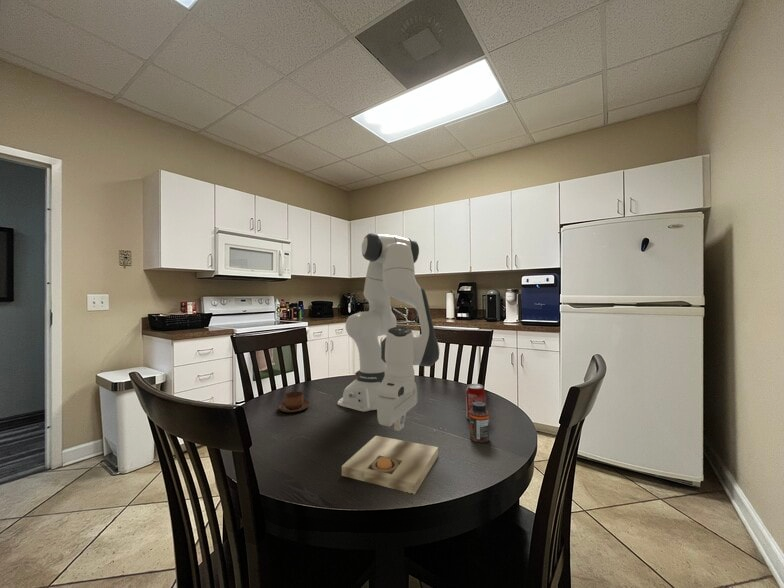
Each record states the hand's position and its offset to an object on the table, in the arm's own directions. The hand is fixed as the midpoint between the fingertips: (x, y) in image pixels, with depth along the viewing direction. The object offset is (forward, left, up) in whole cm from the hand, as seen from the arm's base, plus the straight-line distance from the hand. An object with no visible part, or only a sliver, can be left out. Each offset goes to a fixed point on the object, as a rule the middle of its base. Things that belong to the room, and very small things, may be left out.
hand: (399, 429), depth 97 cm
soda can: (+17, +32, -6) cm, 36 cm away
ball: (+1, -13, -4) cm, 14 cm away
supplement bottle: (+21, +16, -6) cm, 27 cm away
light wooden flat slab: (+2, -9, -6) cm, 11 cm away
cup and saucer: (-53, +15, -7) cm, 56 cm away
